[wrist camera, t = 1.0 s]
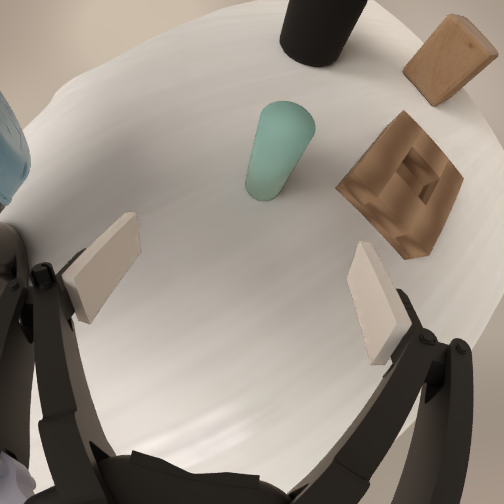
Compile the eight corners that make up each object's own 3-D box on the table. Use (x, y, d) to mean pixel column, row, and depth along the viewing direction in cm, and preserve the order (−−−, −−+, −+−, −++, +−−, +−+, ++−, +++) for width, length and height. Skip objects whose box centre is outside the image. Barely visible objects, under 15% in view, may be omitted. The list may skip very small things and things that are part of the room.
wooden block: (431, 108, 39) (492, 56, 19) (399, 71, 39) (448, 11, 19) (448, 99, 40) (501, 54, 20) (419, 65, 41) (464, 15, 21)
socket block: (335, 188, 34) (353, 172, 28) (386, 126, 36) (403, 109, 31) (404, 259, 34) (428, 255, 28) (442, 188, 36) (463, 178, 31)
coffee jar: (344, 52, 38) (380, -15, 20) (322, 78, 36) (363, -3, 19) (294, 27, 38) (317, -43, 20) (266, 50, 36) (285, -35, 18)
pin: (237, 184, 33) (247, 121, 19) (261, 161, 33) (283, 92, 20) (264, 208, 33) (292, 157, 19) (287, 184, 33) (325, 125, 19)
